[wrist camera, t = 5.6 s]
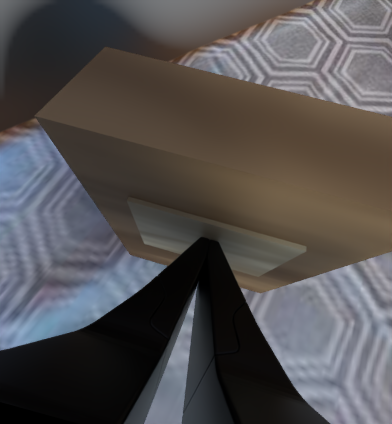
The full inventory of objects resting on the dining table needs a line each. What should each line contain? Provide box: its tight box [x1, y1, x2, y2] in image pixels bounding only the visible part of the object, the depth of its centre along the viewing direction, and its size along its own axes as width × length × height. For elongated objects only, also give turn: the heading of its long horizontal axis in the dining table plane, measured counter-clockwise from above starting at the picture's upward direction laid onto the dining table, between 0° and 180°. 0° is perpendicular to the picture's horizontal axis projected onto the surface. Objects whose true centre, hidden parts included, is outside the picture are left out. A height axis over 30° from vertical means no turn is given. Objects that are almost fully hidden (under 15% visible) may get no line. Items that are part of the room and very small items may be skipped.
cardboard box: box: [35, 47, 392, 293], centre depth 12 cm, size 4×11×13 cm, turn 74°
